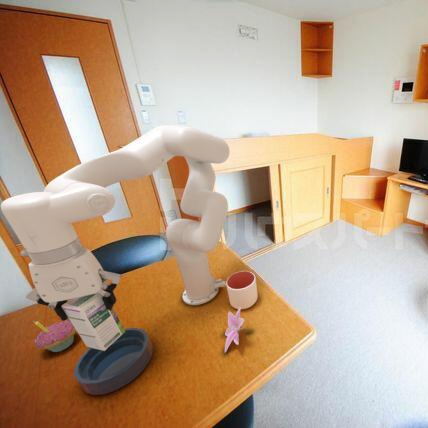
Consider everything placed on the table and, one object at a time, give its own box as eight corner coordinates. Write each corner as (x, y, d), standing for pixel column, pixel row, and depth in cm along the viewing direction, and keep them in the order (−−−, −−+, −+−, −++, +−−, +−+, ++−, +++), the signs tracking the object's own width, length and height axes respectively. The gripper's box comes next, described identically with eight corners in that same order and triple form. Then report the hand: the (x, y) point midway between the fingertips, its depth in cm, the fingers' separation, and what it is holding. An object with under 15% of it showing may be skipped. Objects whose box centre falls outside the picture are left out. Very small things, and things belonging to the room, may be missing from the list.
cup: (262, 293, 92) (260, 273, 88) (250, 313, 84) (246, 292, 79) (239, 289, 94) (235, 268, 90) (224, 308, 86) (220, 287, 81)
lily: (234, 319, 83) (216, 308, 76) (264, 312, 80) (247, 300, 74) (226, 358, 74) (205, 349, 68) (259, 351, 71) (240, 341, 65)
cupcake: (47, 363, 67) (25, 334, 62) (38, 348, 71) (17, 319, 66) (86, 340, 73) (69, 312, 68) (76, 327, 77) (60, 300, 72)
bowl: (158, 333, 76) (153, 321, 74) (146, 381, 63) (140, 368, 61) (97, 350, 71) (89, 338, 68) (71, 407, 58) (60, 394, 55)
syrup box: (104, 351, 59) (80, 309, 53) (85, 347, 60) (59, 304, 54) (125, 332, 64) (106, 291, 58) (107, 328, 65) (86, 287, 59)
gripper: (-16, 270, 44) (32, 335, 52) (101, 251, 50) (129, 311, 58) (13, 249, 50) (51, 309, 58) (114, 234, 56) (137, 291, 64)
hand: (90, 310), depth 58 cm, fingers closed on syrup box, 7 cm apart
